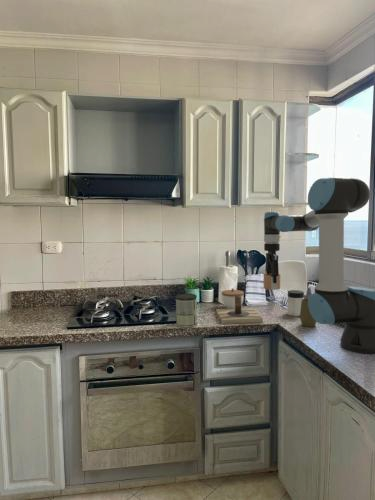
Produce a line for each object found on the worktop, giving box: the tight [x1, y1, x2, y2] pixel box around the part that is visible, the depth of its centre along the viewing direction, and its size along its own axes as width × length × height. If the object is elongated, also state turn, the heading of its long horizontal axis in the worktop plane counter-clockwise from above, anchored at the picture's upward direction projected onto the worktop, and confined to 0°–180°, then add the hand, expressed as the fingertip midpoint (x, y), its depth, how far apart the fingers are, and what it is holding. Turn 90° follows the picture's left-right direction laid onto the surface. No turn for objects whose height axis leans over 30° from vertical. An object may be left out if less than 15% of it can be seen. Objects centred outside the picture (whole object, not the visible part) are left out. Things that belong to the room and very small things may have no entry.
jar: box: [287, 289, 305, 317], centre depth 189 cm, size 9×8×12 cm
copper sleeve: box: [263, 273, 281, 291], centre depth 182 cm, size 8×8×7 cm
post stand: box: [215, 296, 264, 325], centre depth 184 cm, size 20×20×11 cm
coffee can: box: [174, 293, 198, 328], centre depth 174 cm, size 10×10×14 cm
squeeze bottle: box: [299, 286, 317, 328], centre depth 169 cm, size 8×8×18 cm
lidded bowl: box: [221, 288, 245, 309], centre depth 205 cm, size 13×13×11 cm
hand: (271, 287), depth 183 cm, fingers closed on copper sleeve, 8 cm apart
